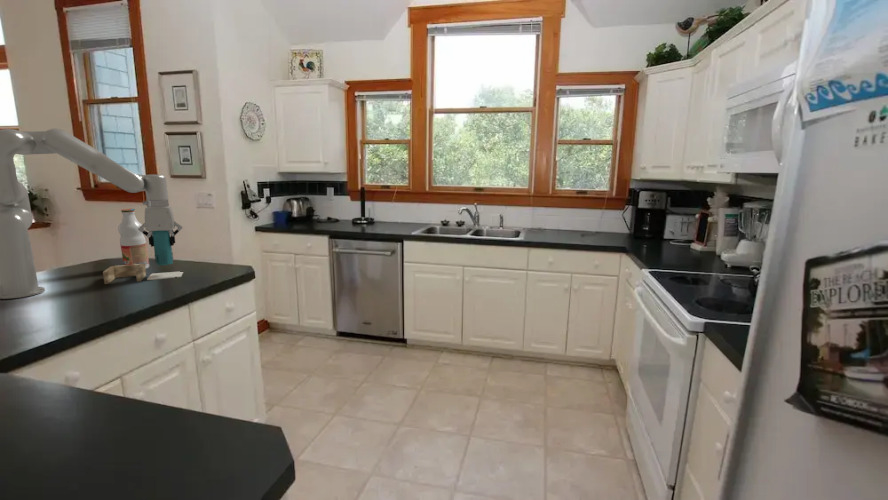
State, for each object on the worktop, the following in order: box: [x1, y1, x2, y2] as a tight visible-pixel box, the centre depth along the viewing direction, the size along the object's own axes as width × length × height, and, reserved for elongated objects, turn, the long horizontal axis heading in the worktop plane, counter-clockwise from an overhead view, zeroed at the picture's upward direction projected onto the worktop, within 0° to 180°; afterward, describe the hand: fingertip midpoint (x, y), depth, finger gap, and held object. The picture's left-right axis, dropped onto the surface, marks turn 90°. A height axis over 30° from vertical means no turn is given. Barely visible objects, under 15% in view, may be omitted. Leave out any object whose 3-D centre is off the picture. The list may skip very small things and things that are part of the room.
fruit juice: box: [117, 208, 150, 269], centre depth 184 cm, size 9×9×28 cm
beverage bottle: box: [152, 231, 174, 266], centre depth 173 cm, size 6×7×20 cm
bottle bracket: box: [102, 264, 147, 285], centre depth 169 cm, size 12×12×5 cm
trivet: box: [146, 271, 184, 281], centre depth 176 cm, size 12×10×1 cm
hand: (162, 245), depth 174 cm, fingers closed on beverage bottle, 6 cm apart
